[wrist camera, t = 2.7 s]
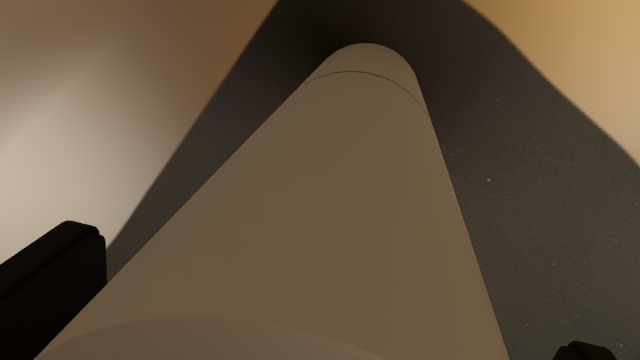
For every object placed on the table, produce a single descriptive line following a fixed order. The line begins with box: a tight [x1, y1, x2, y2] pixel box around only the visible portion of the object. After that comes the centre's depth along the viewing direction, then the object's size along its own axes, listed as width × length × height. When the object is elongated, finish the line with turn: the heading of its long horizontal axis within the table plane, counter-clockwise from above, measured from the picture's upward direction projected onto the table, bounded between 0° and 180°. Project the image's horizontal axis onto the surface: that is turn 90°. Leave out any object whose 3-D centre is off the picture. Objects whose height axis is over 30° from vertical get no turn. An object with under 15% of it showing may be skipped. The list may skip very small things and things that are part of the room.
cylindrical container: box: [34, 43, 509, 360], centre depth 17 cm, size 7×7×25 cm
